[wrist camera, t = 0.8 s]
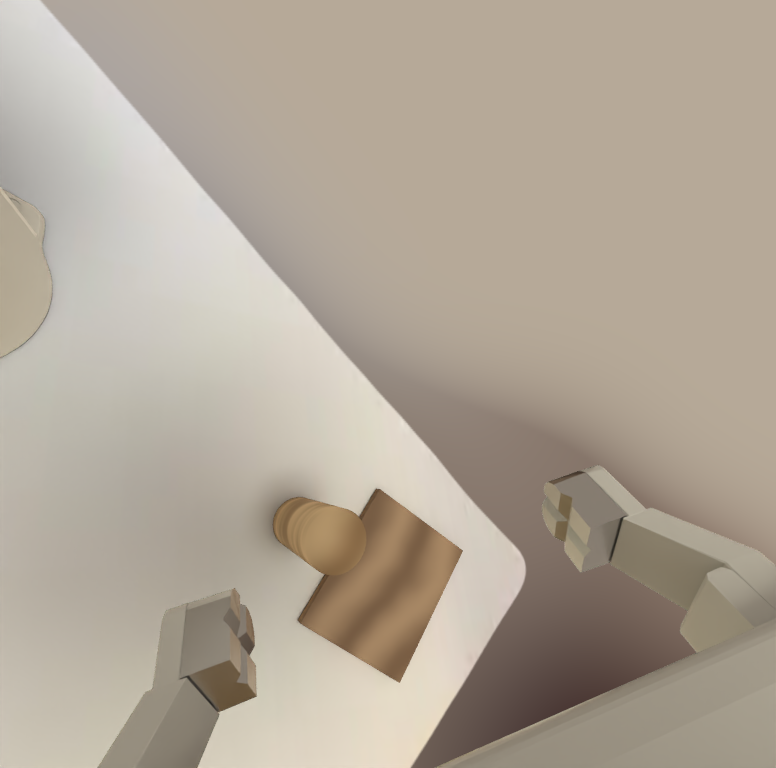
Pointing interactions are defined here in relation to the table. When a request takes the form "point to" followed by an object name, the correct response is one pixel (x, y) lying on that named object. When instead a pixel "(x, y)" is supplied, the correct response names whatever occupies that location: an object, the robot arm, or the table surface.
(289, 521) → the oak roller
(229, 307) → the table surface
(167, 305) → the table surface
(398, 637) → the board
